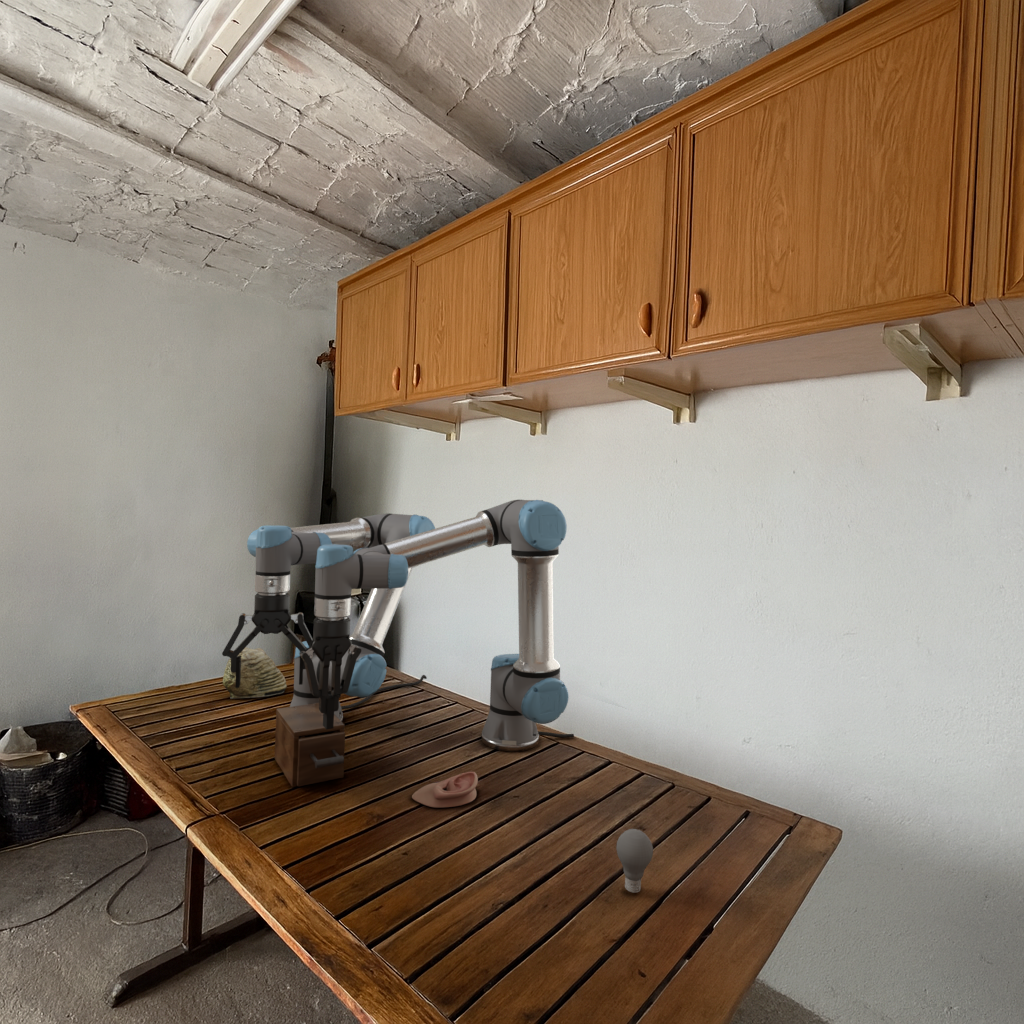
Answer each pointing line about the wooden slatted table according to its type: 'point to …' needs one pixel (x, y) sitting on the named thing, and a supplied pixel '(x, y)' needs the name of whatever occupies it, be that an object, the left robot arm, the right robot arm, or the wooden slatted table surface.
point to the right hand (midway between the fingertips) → (328, 726)
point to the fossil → (254, 676)
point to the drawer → (320, 757)
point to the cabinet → (297, 734)
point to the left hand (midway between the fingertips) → (269, 684)
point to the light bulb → (634, 857)
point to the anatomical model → (449, 791)
